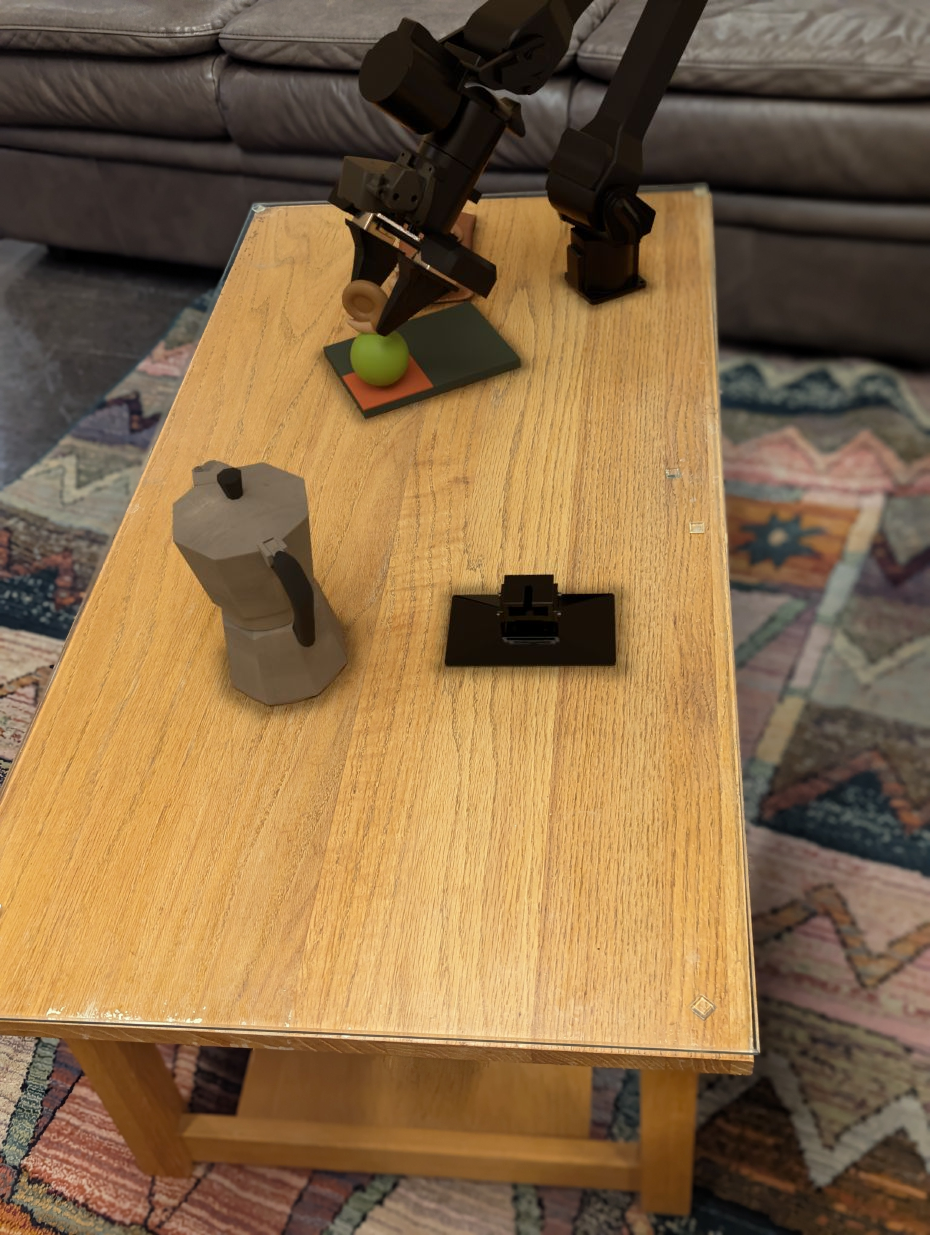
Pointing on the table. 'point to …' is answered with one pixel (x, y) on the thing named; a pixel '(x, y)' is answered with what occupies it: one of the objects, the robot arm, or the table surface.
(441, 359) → the corner mat
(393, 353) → the snail figurine
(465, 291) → the sunglasses case
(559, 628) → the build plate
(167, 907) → the table surface
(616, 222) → the robot arm
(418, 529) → the table surface
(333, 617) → the coffeepot
